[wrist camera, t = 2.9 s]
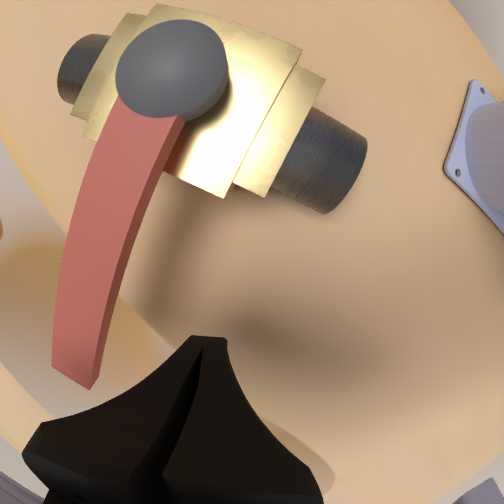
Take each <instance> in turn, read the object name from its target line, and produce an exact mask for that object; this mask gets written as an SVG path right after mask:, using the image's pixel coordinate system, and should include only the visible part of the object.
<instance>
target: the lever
mask: <svg viewBox="0 0 504 504" xmlns="http://www.w3.org/2000/svg"><path fill="white" fill-rule="evenodd" d="M228 77H229V66H228V60H227V56H226V51H225V48H224V44H223V42H222V40H221V38H220V37H219V36H218V34H217V33H216V32H215V31H214V30H213V29H211V28H210V27H208V26H207V25H205V24H203V23H200V22H197V21H193V20H186V19H176V20H169V21H165V22H161V23H159V24H156V25H154V26H152V27H150V28H148V29H146V30H145V31H143V32H142V33H140V34H139V35H138V36H137V37H135V38H134V39H133V40H132V41H131V42H130V44H129V45H128V46H127V47H126V49H125V50H124V52H123V53H122V55H121V57H120V59H119V62H118V64H117V68H116V74H115V84H116V89H117V92H118V96H117V98H116V100H115V102H114V105H113V107H112V109H111V111H110V113H109V115H108V117H107V120H106V122H105V124H104V126H103V129H102V131H101V133H100V136H99V138H98V141H97V143H96V146H95V148H94V151H93V153H92V156H91V159H90V162H89V164H88V167H87V170H86V173H85V176H84V179H83V182H82V185H81V188H80V191H79V195H78V198H77V201H76V205H75V208H74V212H73V216H72V219H71V223H70V227H69V231H68V236H67V240H66V245H65V249H64V254H63V259H62V265H61V271H60V276H59V283H58V290H57V297H56V307H55V316H54V326H53V342H52V343H53V344H52V367H53V368H55V369H56V370H58V371H59V372H61V373H62V374H64V375H65V376H67V377H68V378H70V379H71V380H73V381H75V382H76V383H78V384H80V385H81V386H83V387H85V388H86V389H88V390H90V389H91V387H92V386H93V384H94V383H95V381H96V380H97V378H98V377H99V372H100V367H101V362H102V357H103V352H104V347H105V343H106V338H107V334H108V329H109V326H110V322H111V318H112V314H113V310H114V306H115V303H116V299H117V296H118V292H119V289H120V285H121V282H122V279H123V275H124V272H125V269H126V266H127V263H128V260H129V257H130V254H131V251H132V248H133V245H134V242H135V239H136V236H137V233H138V231H139V228H140V225H141V222H142V220H143V217H144V214H145V212H146V209H147V207H148V204H149V202H150V199H151V197H152V194H153V192H154V189H155V187H156V185H157V182H158V180H159V178H160V175H161V173H162V171H163V168H164V166H165V164H166V162H167V159H168V157H169V155H170V153H171V151H172V149H173V146H174V144H175V142H176V140H177V138H178V136H179V134H180V132H181V130H182V128H183V126H184V124H185V122H186V121H189V120H192V119H194V118H197V117H199V116H200V115H202V114H204V113H205V112H206V111H208V110H209V109H210V108H211V107H212V106H213V105H215V103H216V102H217V101H218V100H219V99H220V97H221V96H222V94H223V92H224V90H225V88H226V85H227V82H228Z"/></svg>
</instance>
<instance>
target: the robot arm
mask: <svg viewBox="0 0 504 504" xmlns="http://www.w3.org/2000/svg"><path fill="white" fill-rule="evenodd" d="M480 90H481V91H480ZM444 170H445V173H446V174H447V175H448V176H449V177H450V178H451V179H452V180H453V181H454V182H455V183H456V184H457V185H458V186H459V187H460V188H461V189H462V190H463V191H464V192H465V193H466V194H467V195H468V196H469V197H470V198H471V199H472V200H473V201H474V202H475V203H476V204H477V205H478V206H479V207H480V208H481V209H482V210H483V211H484V212H485V213H486V215H487V216H488V217H489V218H490V219H491V220H492V221H493V222H494V224H495V225H496V226H497V227H498V228H499V230H500V231H501V232H502V233H503V234H504V101H503V102H497V101H496V100H495V99H494V98H493V97H492V95H491V94H490V93H489V92H488V91H487V90H486V89H485V87H484V86H483V85H482V84H481V83H480V82H479V81H478V80H476V79H474V80H471V82H470V85H469V89H468V93H467V97H466V101H465V104H464V108H463V111H462V115H461V118H460V121H459V124H458V127H457V131H456V134H455V136H454V139H453V142H452V145H451V148H450V151H449V153H448V156H447V159H446V161H445V164H444ZM455 170H456V171H457V175H455ZM22 457H23V459H24V462H25V463H26V465H27V466H28V467H29V468H30V470H31V471H32V472H33V473H34V474H35V475H36V476H37V477H38V478H39V479H40V480H41V481H42V482H43V483H44V484H45V485H46V487H48V489H49V491H48V493H47V495H46V498H45V499H44V498H42V497H40V496H38V495H37V494H35V493H33V492H31V491H30V490H28V489H27V488H25V487H23V486H22V485H20V484H19V483H17V482H16V481H14V480H13V479H11V478H10V477H8V476H7V475H5V474H4V473H3V472H1V471H0V504H324V502H323V497H322V494H321V491H320V489H319V486H318V484H317V482H316V480H315V478H314V476H313V474H312V472H311V470H310V468H309V467H308V466H307V465H305V464H304V463H303V462H302V461H300V460H299V459H298V458H297V457H295V456H294V455H293V454H292V453H291V452H290V451H288V449H287V448H286V447H284V446H283V445H282V444H281V443H280V442H279V441H278V440H277V439H276V437H274V435H273V434H272V433H271V432H270V431H269V430H268V428H267V427H266V426H265V425H264V423H263V422H262V421H261V420H260V418H259V417H258V416H257V414H256V413H255V411H254V410H253V408H252V407H251V405H250V404H249V402H248V400H247V399H246V397H245V395H244V393H243V391H242V389H241V387H240V385H239V383H238V381H237V379H236V377H235V374H234V371H233V369H232V366H231V363H230V359H229V355H228V351H227V340H226V339H225V338H222V337H207V336H195V335H191V336H190V337H189V338H188V339H187V340H186V341H185V342H184V343H183V344H182V345H181V346H180V347H179V348H178V349H177V350H176V351H175V352H174V353H173V354H172V355H171V356H170V357H169V358H168V359H167V360H166V361H165V362H164V363H163V364H162V365H161V366H160V367H158V368H157V369H156V370H155V371H153V372H152V373H151V374H150V375H149V376H148V377H146V378H145V379H144V380H142V381H141V382H140V383H138V384H137V385H135V386H134V387H132V388H131V389H129V390H128V391H126V392H124V393H123V394H121V395H119V396H117V397H115V398H113V399H111V400H109V401H107V402H105V403H103V404H101V405H99V406H96V407H94V408H91V409H89V410H86V411H83V412H81V413H78V414H75V415H71V416H68V417H64V418H60V419H56V420H51V421H47V422H42V423H41V424H40V426H39V427H38V428H37V430H36V431H35V433H34V434H33V436H32V437H31V439H30V441H29V442H28V444H27V445H26V447H25V448H24V450H23V451H22ZM453 504H504V497H503V495H502V494H501V492H500V490H499V488H498V486H497V484H496V483H495V481H494V479H493V478H489V479H488V480H486V481H484V482H483V483H481V484H480V485H478V486H476V487H474V488H473V489H471V490H470V491H468V492H466V493H465V494H464V495H462V496H461V497H460V498H458V499H457V500H456V501H455V502H454V503H453Z"/></svg>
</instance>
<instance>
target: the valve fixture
mask: <svg viewBox="0 0 504 504" xmlns="http://www.w3.org/2000/svg"><path fill="white" fill-rule="evenodd" d="M176 19H186V20H193V21H197V22H200V23H203V24H205V25H207V26H208V27H210V28H211V29H213V30H214V31H215V32H216V33H217V34H218V36H219V37H220V38H221V40H222V42H223V44H224V48H225V51H226V56H227V60H228V66H229V77H228V82H227V85H226V88H225V90H224V92H223V94H222V96H221V97H220V99H219V100H218V101H217V102H216V103H215V105H213V106H212V107H211V108H210V109H209V110H208V111H206V112H205V113H204V114H202V115H200V116H199V117H197V118H194V119H192V120H189V121H186V122H185V124H184V126H183V128H182V130H181V132H180V134H179V136H178V138H177V140H176V142H175V144H174V146H173V149H172V151H171V153H170V155H169V157H168V159H167V162H166V164H165V166H164V168H163V171H164V172H166V173H169V174H171V175H173V176H175V177H178V178H180V179H182V180H184V181H186V182H189V183H191V184H193V185H195V186H197V187H199V188H202V189H204V190H206V191H208V192H210V193H212V194H214V195H216V196H219V197H221V198H223V199H224V198H225V197H226V196H227V195H228V194H229V193H231V192H232V191H233V189H234V187H235V185H236V184H237V185H239V186H241V187H243V188H245V189H247V190H249V191H251V192H253V193H255V194H258V195H260V196H262V197H264V198H265V196H266V194H267V192H268V190H269V188H270V187H272V188H274V189H276V190H278V191H280V192H282V193H284V194H286V195H288V196H290V197H292V198H293V199H295V200H297V201H299V202H301V203H303V204H305V205H307V206H309V207H310V208H312V209H314V210H316V211H318V212H320V213H322V214H327V213H329V212H331V211H332V210H333V209H334V208H336V207H337V206H338V205H339V203H340V202H341V201H342V200H343V199H344V197H345V196H346V195H347V193H348V192H349V190H350V189H351V187H352V186H353V184H354V182H355V180H356V179H357V177H358V175H359V173H360V170H361V168H362V166H363V163H364V160H365V157H366V153H367V140H366V138H364V137H363V136H361V135H360V134H358V133H357V132H355V131H353V130H352V129H350V128H349V127H347V126H345V125H344V124H342V123H340V122H339V121H337V120H335V119H333V118H332V117H330V116H328V115H327V114H325V113H323V112H321V111H319V110H318V109H316V108H314V107H312V105H313V103H314V101H315V99H316V97H317V95H318V94H319V92H320V90H321V88H322V86H323V84H324V82H325V80H326V79H324V78H322V77H320V76H318V75H316V74H314V73H313V72H311V71H309V70H307V69H305V68H303V67H301V66H299V65H296V64H297V62H298V59H299V57H300V55H301V53H302V50H303V49H300V48H298V47H296V46H294V45H292V44H289V43H287V42H285V41H283V40H280V39H278V38H276V37H273V36H271V35H268V34H266V33H263V32H260V31H258V30H255V29H252V28H249V27H247V26H244V25H241V24H238V23H235V22H232V21H228V20H225V19H222V18H219V17H215V16H211V15H208V14H204V13H200V12H196V11H192V10H187V9H183V8H178V7H173V6H168V5H162V4H156V5H155V6H154V7H153V9H152V10H151V11H150V13H149V14H148V15H147V16H143V15H137V14H130V13H127V14H126V15H125V16H124V18H123V19H122V21H121V22H120V23H119V25H118V26H117V28H116V29H115V31H114V32H113V34H112V36H107V35H101V34H90V35H87V36H85V37H83V38H81V39H80V40H79V41H77V42H76V43H75V44H74V45H73V46H72V47H71V48H70V50H69V51H68V52H67V54H66V56H65V57H64V59H63V61H62V63H61V66H60V69H59V73H58V78H57V87H58V92H59V95H60V97H61V98H62V99H63V100H64V101H65V102H67V103H70V104H73V105H74V107H73V109H72V111H71V114H70V115H72V116H75V117H78V118H81V119H83V120H86V121H88V122H87V125H86V127H85V129H84V132H83V134H82V137H85V138H87V139H90V140H92V141H95V142H97V141H98V138H99V136H100V133H101V131H102V129H103V126H104V124H105V122H106V120H107V117H108V115H109V113H110V111H111V109H112V107H113V105H114V102H115V100H116V98H117V96H118V92H117V89H116V84H115V74H116V68H117V64H118V62H119V59H120V57H121V55H122V53H123V52H124V50H125V49H126V47H127V46H128V45H129V44H130V42H131V41H132V40H133V39H134V38H135V37H137V36H138V35H139V34H140V33H142V32H143V31H145V30H146V29H148V28H150V27H152V26H154V25H156V24H159V23H161V22H165V21H169V20H176Z"/></svg>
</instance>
